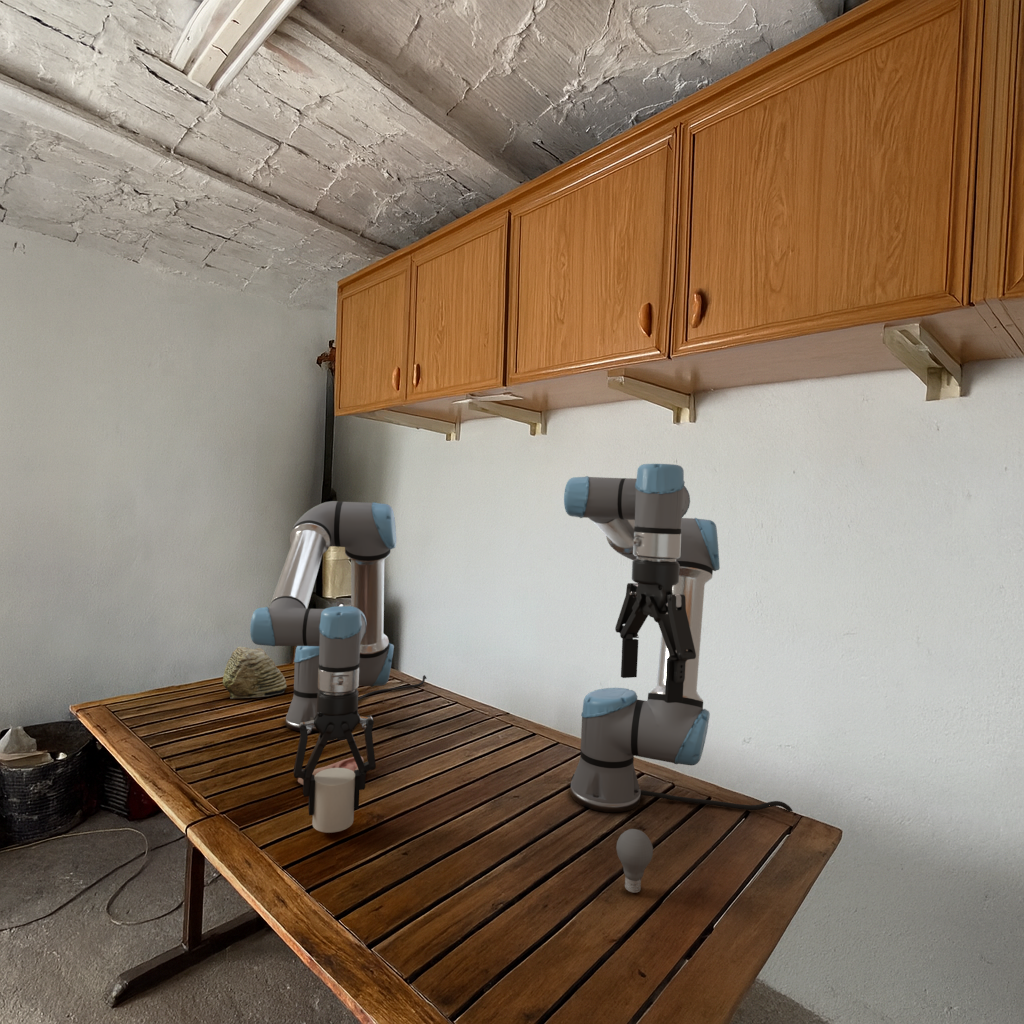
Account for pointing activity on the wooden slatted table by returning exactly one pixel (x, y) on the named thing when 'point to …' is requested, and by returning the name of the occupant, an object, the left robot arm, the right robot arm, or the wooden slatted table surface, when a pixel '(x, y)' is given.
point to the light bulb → (634, 857)
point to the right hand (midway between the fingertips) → (649, 688)
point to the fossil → (252, 674)
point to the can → (334, 800)
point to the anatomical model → (337, 766)
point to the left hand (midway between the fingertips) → (333, 808)
